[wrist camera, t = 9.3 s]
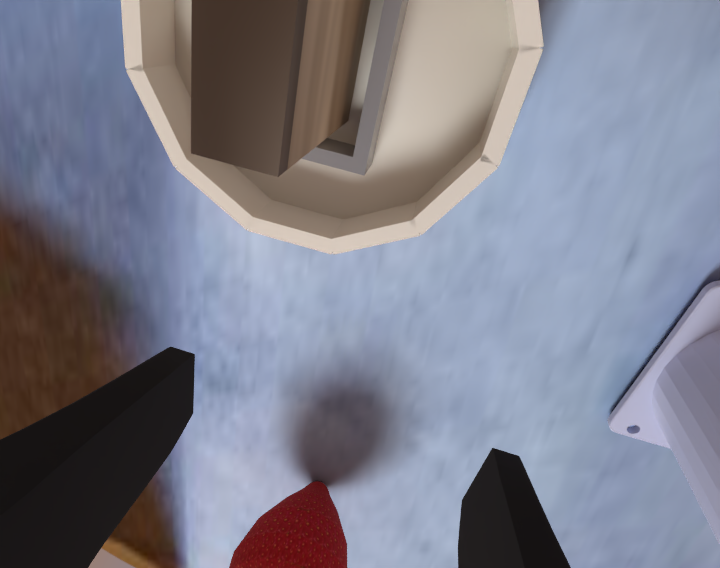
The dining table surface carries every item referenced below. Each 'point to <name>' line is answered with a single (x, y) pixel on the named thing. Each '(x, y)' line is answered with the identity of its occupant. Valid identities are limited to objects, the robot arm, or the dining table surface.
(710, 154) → the dining table surface
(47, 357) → the dining table surface
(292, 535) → the strawberry
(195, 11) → the tan cardboard box
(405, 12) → the beige faceted bowl
